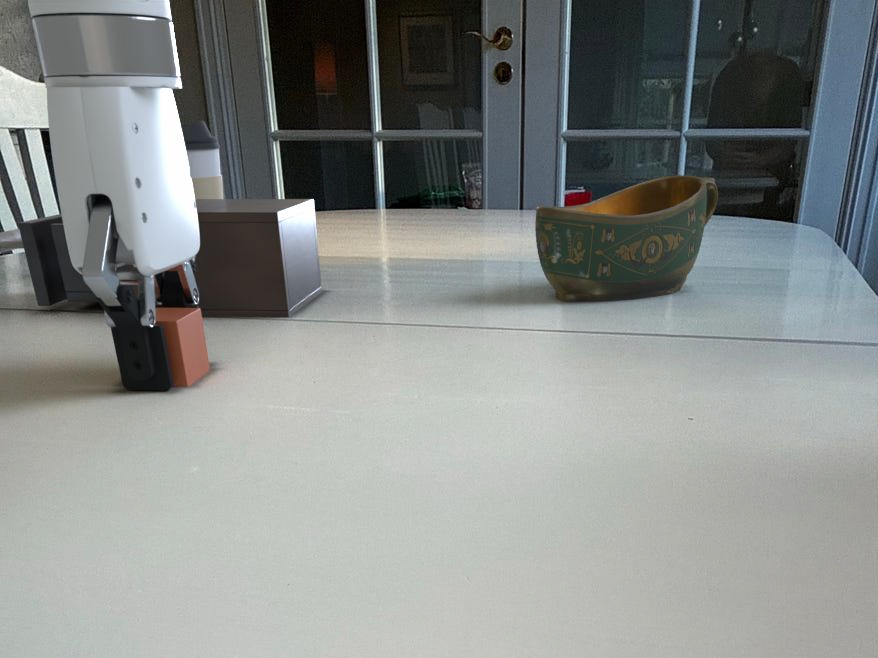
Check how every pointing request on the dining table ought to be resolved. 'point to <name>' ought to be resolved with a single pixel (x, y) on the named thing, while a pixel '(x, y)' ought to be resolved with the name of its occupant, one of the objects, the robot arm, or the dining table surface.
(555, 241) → the creamer
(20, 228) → the drawer
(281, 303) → the cabinet
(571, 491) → the dining table surface
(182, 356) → the block
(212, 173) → the coffee cup
